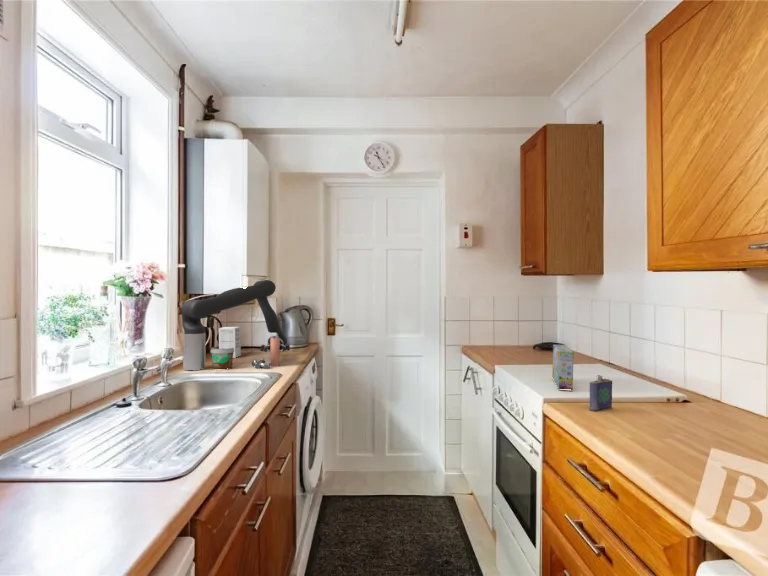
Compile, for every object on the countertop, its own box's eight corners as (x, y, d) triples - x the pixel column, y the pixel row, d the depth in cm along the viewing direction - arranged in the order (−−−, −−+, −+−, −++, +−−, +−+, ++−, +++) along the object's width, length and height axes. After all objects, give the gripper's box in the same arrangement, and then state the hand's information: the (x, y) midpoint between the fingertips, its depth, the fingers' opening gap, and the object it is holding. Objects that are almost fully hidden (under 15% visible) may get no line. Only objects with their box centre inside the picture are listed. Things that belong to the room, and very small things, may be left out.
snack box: (574, 392, 153) (574, 351, 153) (558, 391, 155) (558, 351, 155) (565, 380, 174) (565, 344, 174) (551, 379, 175) (551, 343, 175)
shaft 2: (254, 368, 199) (254, 362, 199) (257, 367, 202) (257, 361, 202) (267, 369, 198) (267, 362, 198) (270, 367, 201) (270, 361, 201)
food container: (204, 369, 196) (204, 348, 196) (213, 367, 202) (213, 346, 202) (226, 370, 193) (226, 349, 193) (234, 368, 199) (234, 347, 199)
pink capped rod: (268, 366, 204) (268, 336, 204) (274, 364, 208) (274, 335, 208) (275, 367, 202) (275, 336, 202) (281, 365, 206) (281, 335, 206)
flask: (594, 412, 128) (594, 377, 128) (586, 409, 131) (586, 375, 131) (614, 408, 132) (614, 375, 132) (605, 406, 135) (605, 373, 135)
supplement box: (241, 355, 237) (241, 326, 238) (235, 358, 228) (235, 328, 228) (224, 355, 237) (224, 326, 237) (218, 358, 228) (218, 328, 228)
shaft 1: (256, 366, 204) (256, 360, 204) (251, 366, 205) (251, 360, 205) (265, 364, 210) (265, 358, 210) (260, 364, 211) (260, 358, 211)
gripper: (262, 338, 218) (259, 342, 202) (289, 338, 221) (289, 341, 205) (262, 352, 218) (259, 357, 202) (289, 351, 221) (289, 356, 205)
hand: (274, 349), depth 204 cm, fingers open, 8 cm apart
